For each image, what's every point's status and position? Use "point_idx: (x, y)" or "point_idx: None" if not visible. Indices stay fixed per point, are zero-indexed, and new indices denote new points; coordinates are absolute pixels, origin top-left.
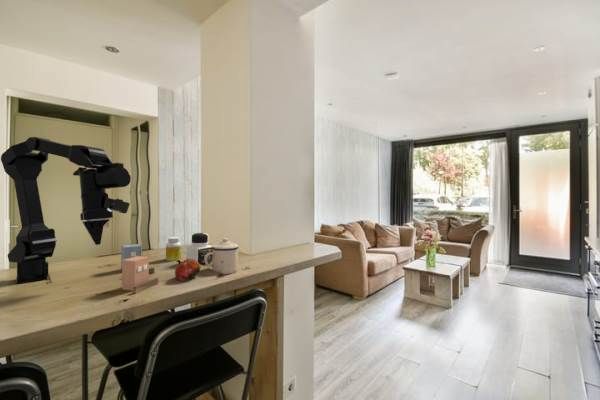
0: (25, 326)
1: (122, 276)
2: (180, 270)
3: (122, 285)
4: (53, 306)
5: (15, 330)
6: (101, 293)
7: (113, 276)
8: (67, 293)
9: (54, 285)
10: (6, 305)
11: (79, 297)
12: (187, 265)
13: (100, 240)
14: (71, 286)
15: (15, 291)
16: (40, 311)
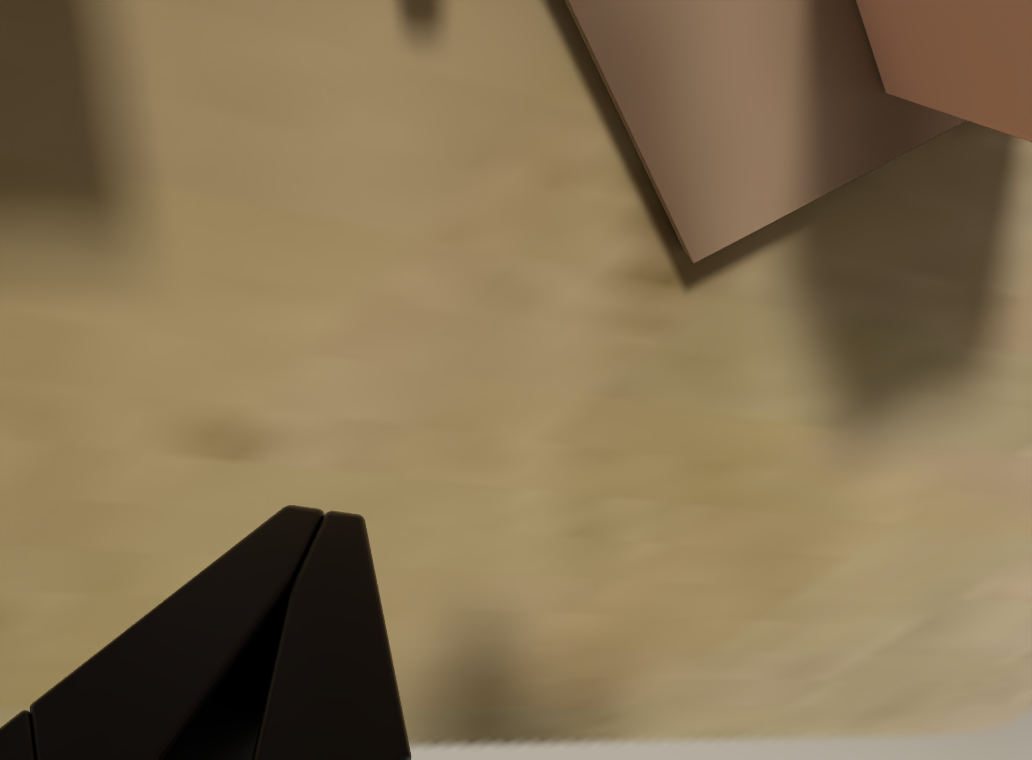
0: (951, 678)
1: (980, 121)
2: None
3: (912, 97)
4: (715, 561)
5: (965, 708)
6: (678, 244)
7: None
8: (437, 461)
9: (63, 510)
10: (447, 741)
11: (641, 407)
12: None
13: (375, 581)
14: (203, 408)
15: None
16: (754, 620)
